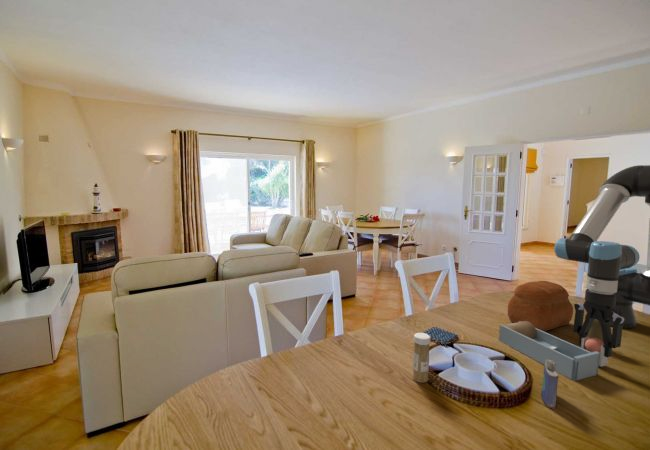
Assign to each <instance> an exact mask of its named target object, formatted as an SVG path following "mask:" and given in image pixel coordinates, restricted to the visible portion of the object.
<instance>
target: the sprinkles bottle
mask: <svg viewBox="0 0 650 450" xmlns="http://www.w3.org/2000/svg"><path fill="white" fill-rule="evenodd" d="M413 343H414V344H413V347H414V348H413V364H412V366H413V371H412V373H413V374H412V379H413V380H414V381H415V382H418V383H424V384H425V383H427V382H428V381H429V365H430V344H431V341H430V336H429V335H428V334H425V333H424V332H416V333H414V335H413Z"/></svg>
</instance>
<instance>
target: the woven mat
mask: <svg viewBox="0 0 650 450" xmlns="http://www.w3.org/2000/svg"><path fill="white" fill-rule="evenodd" d="M423 333H425V334H428V335H429V336H430V342H432V343H436V344H438V345H441V344H446V343H449V342H452V343H453V342H456V341H457V340H458V339H459V338H460V337H459V334H457V333H454V332H450V331H448V330H445V329H443V328H439V327H437V326H436V327H434V326H432V327H430V329H429V328H428V329H427V330H425V331H423ZM440 343H441V344H440Z"/></svg>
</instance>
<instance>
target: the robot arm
mask: <svg viewBox="0 0 650 450" xmlns="http://www.w3.org/2000/svg"><path fill="white" fill-rule="evenodd" d="M632 197H637V198H639V197H641V198H644V202H645V204H646V205H648V206H649V207H650V164H649V165H647V164H645V165H639V164H638V165H633V166H630V167H627V168H624V169H621V170H619V171H618V172H616V173H614V174H613V175H611V176H610V177H609V178H607V179H606V180H605V181H604V182H603V183H602V185H601V186H600V187H599V189H598V196H597V197H596V199H595V200H594V201H593V203H592V204H591V206H590V207H589V209H588V210H587V211H586V213H585V214H584V216H583V217H582V219H580V222H579V223H578V225H577V226H576V227H575V229H574V230H573V232H572V233H571V234H570V235H569V237H568V238H567V237H566V238H565V237H563V238H562V237H561V238H559V239H557V240H556V242H555V245H554V246H553V247H554V248H553V249H554V254H555V256H556V257H557V258H559V259H563V260H566V261H571V262H579V263H585V264H588V266H587V276H586V284H585V286H586V287H585V288H586V289H585V292H584V302H583V303H582V302H579V303H574V305H573V306H574V307H573V308H574V310H575V311H574V312H575V313H574V321H573V328H572V329H573V330H572V331H573V333H575V334H577V335H578V337H579V338H578V347H580V348H583V349H585V350H587V349H586V347H585V342H586V340H587V339H589V337H586V336H589V335H588V333H589V331H590V328H591V326H592V324H593V322H594V320H595V319H597V320H598V321H599V324H600V325H601V330H602V336H603V342H604V345H602V346H601V350H600V359H599V367H602V368H603V367H606V366H608V359H609V358H611V357H612V351H613V349H617V348H621V346H622V335H623V329H624V328H625V329H631V328H635V327H636V326H637V318H636V315H635V312H634V308H633V304H634V303H636V304H641V305H645V306H648V307H649V306H650V219H649V220H648V222H649V223H648V237H647V238H648V239H647V253H646V254H647V255H646V256H647V257H646V267H645V268H643V269H641V270H640V272H638V270H637V268H636V267H634V266H635V265H637V264H638V263H639V261H640V253H639V251H638V250H637V248H636V247H633V246H631V245H629V244H628V245H627V244H620V243H619V242H615V241H614V242H613V241H606V240H605V241H604V240H599V238H600V237H601V235H602V233H603V232H604V231H605V230H606V228H607V226H608V225H609V223H610V222H611V221H612V218H613V217H614V216H615V214H616V213H617V211H618V210H619V209H620V207H621V206H622V204H624V203H626V202H627V201H629V199H630V198H632ZM598 240H599V241H598ZM633 302H634V303H633ZM585 311H586V315H585ZM584 316H585V317H584ZM611 327H612V329H611Z"/></svg>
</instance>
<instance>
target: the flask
mask: <svg viewBox="0 0 650 450" xmlns="http://www.w3.org/2000/svg"><path fill="white" fill-rule="evenodd" d="M555 365H556V363H555V362H554V361H551V360H548V359H547V360H546V361H545V364H543V376H542V383H541V390H540V391H541V392H540V396H541V400H542V402H543V404H544V405H545V407H547V408H549V409H553V410H554V409H555V408H556V406H557V405H556V403H557V393H558V385H559V384H558V382H559V373H558V372H557V371H556V370H555Z"/></svg>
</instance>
